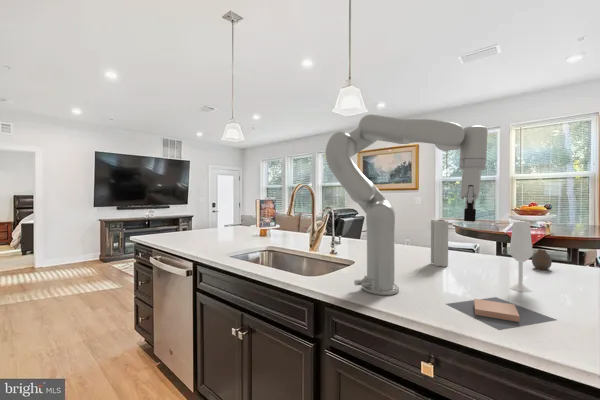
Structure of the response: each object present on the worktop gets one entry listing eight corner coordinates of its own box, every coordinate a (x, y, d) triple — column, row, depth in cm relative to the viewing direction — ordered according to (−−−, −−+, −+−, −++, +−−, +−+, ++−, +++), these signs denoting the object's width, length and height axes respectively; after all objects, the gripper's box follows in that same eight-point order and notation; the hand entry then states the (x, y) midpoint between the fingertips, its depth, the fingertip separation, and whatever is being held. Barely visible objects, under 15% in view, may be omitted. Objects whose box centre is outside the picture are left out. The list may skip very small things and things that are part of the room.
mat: (499, 331, 74) (499, 329, 74) (445, 305, 91) (445, 303, 91) (557, 321, 80) (557, 319, 80) (496, 298, 97) (496, 297, 97)
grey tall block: (450, 266, 138) (450, 220, 137) (437, 267, 138) (437, 221, 137) (443, 263, 145) (443, 219, 144) (430, 263, 145) (430, 219, 145)
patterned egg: (550, 268, 135) (550, 248, 134) (552, 271, 129) (553, 251, 129) (530, 266, 138) (531, 247, 138) (532, 269, 133) (533, 249, 132)
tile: (474, 304, 91) (475, 315, 83) (474, 298, 90) (475, 308, 83) (514, 311, 86) (519, 323, 78) (514, 304, 86) (519, 316, 78)
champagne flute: (536, 292, 103) (537, 223, 102) (515, 291, 104) (516, 222, 103) (525, 286, 109) (526, 221, 109) (505, 285, 110) (506, 220, 110)
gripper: (460, 167, 106) (458, 218, 106) (457, 163, 93) (455, 222, 93) (485, 166, 102) (482, 220, 102) (486, 162, 89) (483, 224, 90)
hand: (469, 220), depth 98 cm, fingers closed
